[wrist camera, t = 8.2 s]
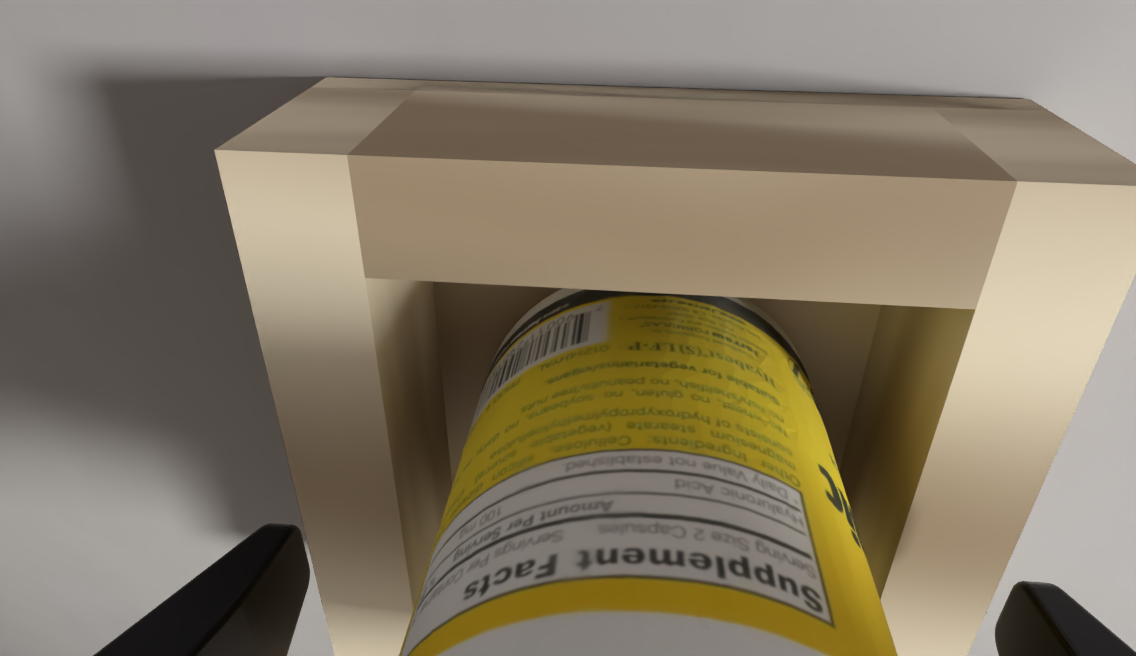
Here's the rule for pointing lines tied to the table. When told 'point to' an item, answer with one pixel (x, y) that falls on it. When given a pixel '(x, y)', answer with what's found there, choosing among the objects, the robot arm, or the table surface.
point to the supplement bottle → (647, 495)
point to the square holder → (680, 266)
